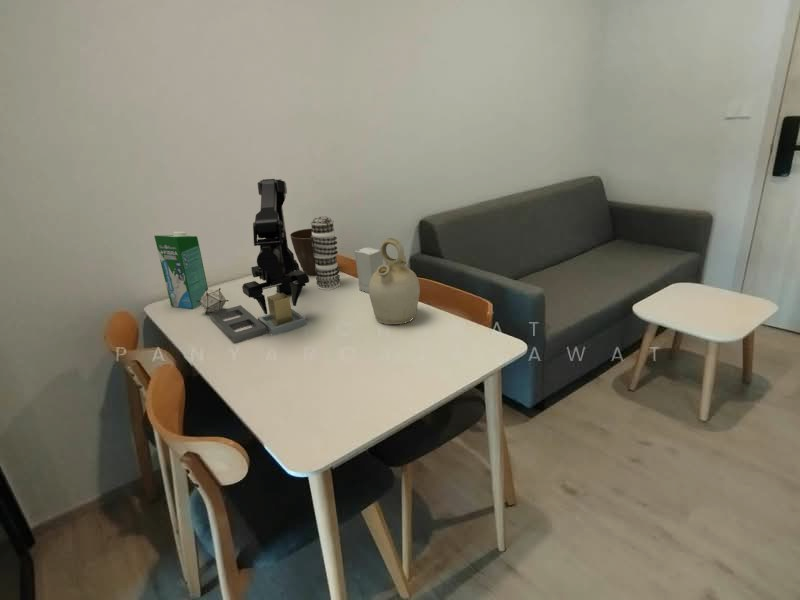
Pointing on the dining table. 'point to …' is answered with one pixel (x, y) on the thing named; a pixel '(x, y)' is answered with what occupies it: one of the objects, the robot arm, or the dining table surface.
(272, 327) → the tray
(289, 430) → the dining table surface
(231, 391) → the dining table surface
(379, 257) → the skincare box
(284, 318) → the tan rectangular block
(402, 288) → the jug
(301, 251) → the plant pot
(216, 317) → the grey flat frame
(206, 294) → the game die
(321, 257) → the patterned tower model
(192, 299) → the milk carton
